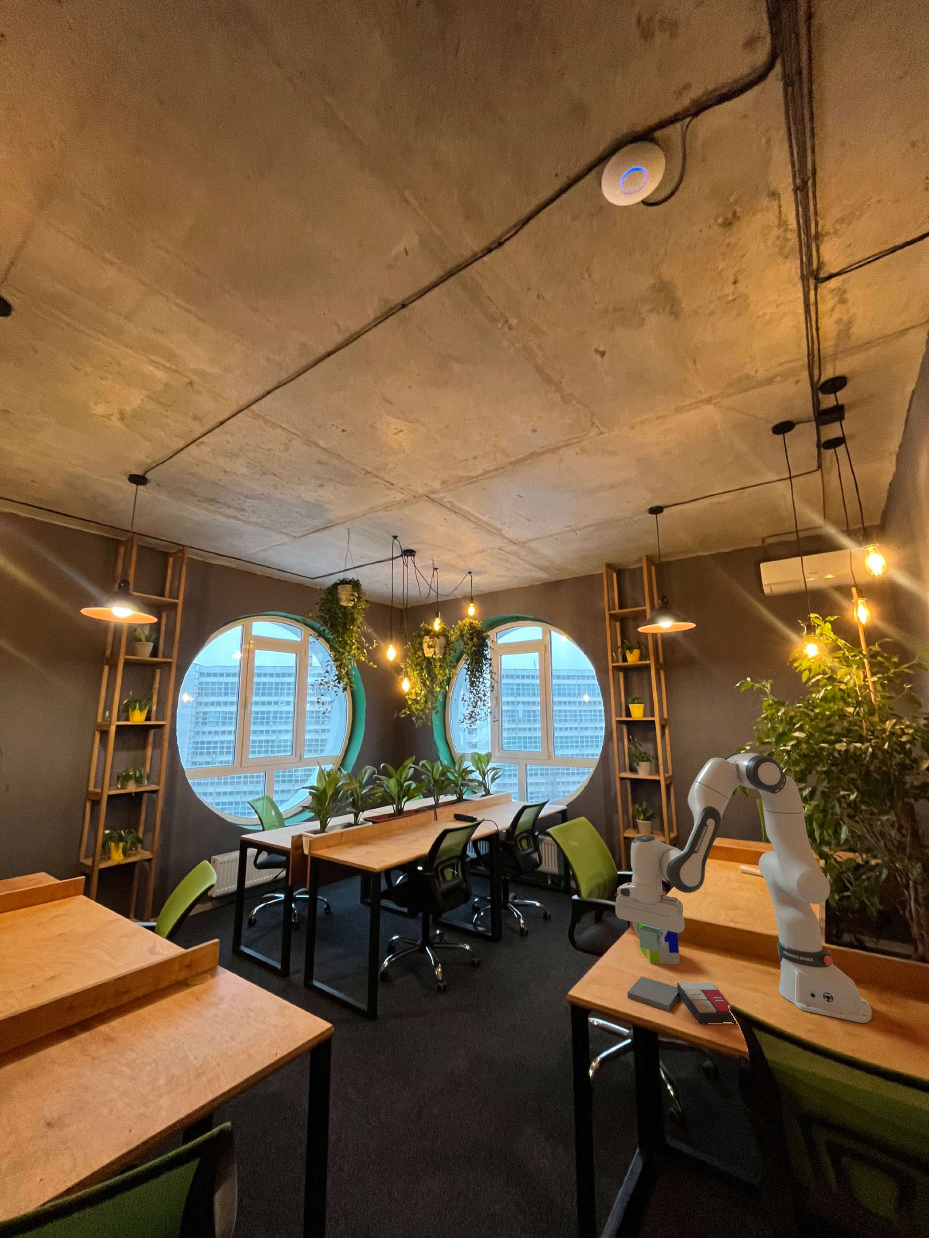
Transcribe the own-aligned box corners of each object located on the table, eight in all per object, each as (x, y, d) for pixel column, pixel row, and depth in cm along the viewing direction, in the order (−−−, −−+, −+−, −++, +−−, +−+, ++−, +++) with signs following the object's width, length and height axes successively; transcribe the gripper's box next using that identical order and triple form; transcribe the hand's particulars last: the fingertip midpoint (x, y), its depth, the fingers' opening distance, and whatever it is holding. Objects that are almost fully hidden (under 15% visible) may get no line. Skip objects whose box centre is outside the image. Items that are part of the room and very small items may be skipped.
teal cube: (661, 946, 155) (660, 928, 156) (656, 951, 151) (655, 933, 152) (645, 941, 158) (644, 924, 159) (640, 947, 154) (638, 929, 155)
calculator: (698, 1010, 138) (676, 979, 153) (699, 1028, 138) (677, 995, 153) (738, 1010, 138) (712, 979, 153) (740, 1028, 138) (713, 995, 152)
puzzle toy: (679, 963, 172) (677, 931, 174) (650, 963, 172) (648, 931, 174) (668, 950, 182) (666, 919, 184) (640, 950, 182) (638, 919, 184)
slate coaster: (681, 993, 153) (680, 988, 153) (669, 1011, 144) (668, 1005, 144) (641, 981, 160) (641, 976, 161) (627, 997, 151) (627, 991, 151)
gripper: (685, 896, 154) (689, 946, 151) (619, 882, 166) (622, 929, 163) (679, 901, 149) (683, 954, 146) (612, 887, 161) (614, 935, 159)
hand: (650, 940), depth 155 cm, fingers closed on teal cube, 5 cm apart
